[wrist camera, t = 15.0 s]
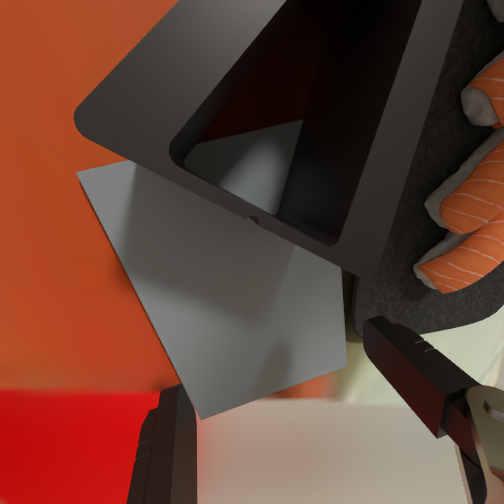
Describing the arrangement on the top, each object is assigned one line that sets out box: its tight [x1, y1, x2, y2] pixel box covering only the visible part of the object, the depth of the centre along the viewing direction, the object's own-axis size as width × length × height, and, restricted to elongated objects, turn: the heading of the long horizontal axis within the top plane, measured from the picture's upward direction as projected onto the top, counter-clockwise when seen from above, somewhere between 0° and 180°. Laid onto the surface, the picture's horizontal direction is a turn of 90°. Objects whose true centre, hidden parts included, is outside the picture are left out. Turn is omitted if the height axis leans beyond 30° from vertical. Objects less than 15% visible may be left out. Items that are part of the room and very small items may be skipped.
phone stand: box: [74, 0, 463, 279], centre depth 8 cm, size 9×6×12 cm
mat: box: [76, 119, 347, 420], centre depth 15 cm, size 12×18×1 cm, turn 12°
